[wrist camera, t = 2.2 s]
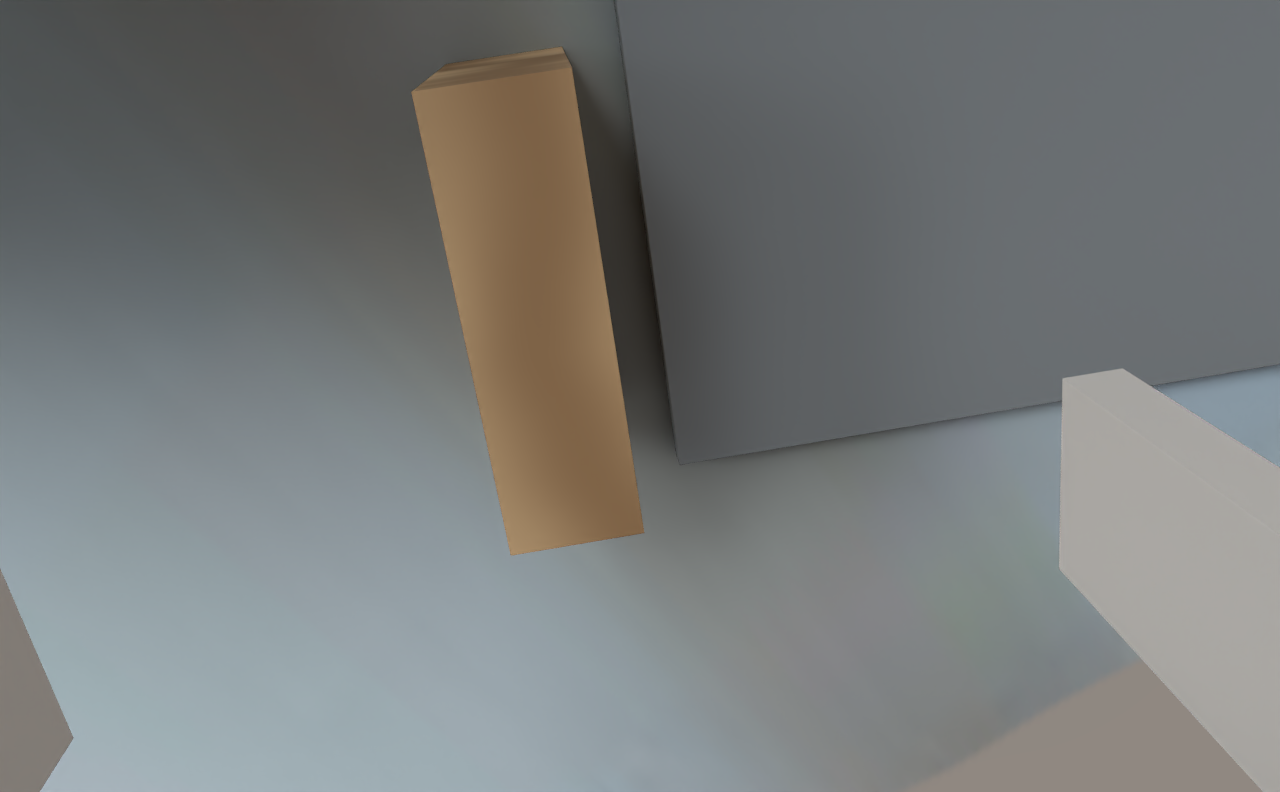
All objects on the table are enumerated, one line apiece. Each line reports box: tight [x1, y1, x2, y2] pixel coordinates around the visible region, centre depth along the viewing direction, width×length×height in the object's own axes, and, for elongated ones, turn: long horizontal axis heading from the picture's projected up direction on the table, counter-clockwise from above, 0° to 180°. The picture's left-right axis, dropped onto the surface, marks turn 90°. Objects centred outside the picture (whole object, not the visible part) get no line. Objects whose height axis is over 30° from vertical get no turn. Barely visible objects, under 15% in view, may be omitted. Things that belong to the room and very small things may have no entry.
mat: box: [614, 0, 1280, 465], centre depth 28 cm, size 20×14×1 cm
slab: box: [411, 47, 644, 555], centre depth 24 cm, size 3×10×8 cm, turn 8°
